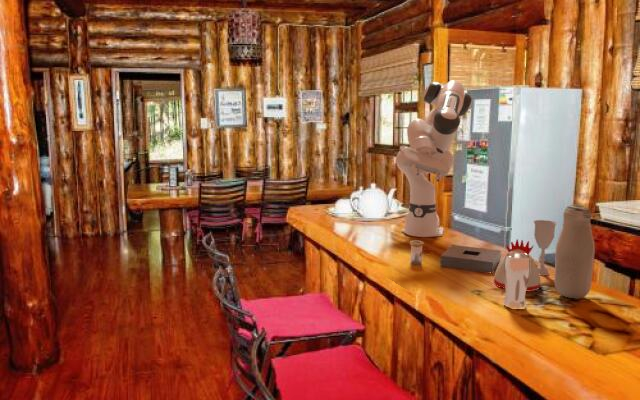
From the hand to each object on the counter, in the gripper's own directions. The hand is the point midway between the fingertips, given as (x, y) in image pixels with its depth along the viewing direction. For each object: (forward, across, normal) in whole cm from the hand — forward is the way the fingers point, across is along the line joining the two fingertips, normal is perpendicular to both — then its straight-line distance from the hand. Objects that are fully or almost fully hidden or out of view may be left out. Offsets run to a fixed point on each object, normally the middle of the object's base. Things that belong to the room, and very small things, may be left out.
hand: (428, 177), depth 199 cm
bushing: (+27, +1, +18) cm, 32 cm away
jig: (+28, +20, +10) cm, 35 cm away
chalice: (+37, +36, -5) cm, 52 cm away
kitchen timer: (+46, +20, -7) cm, 51 cm away
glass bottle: (+56, +28, -18) cm, 65 cm away
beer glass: (+61, +8, -15) cm, 63 cm away
